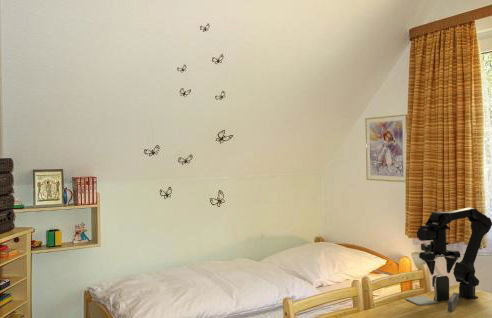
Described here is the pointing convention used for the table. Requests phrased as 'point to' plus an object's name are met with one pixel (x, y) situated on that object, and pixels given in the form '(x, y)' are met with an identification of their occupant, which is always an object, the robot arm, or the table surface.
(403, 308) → the table surface
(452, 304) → the grey rectangular bar
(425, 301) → the mat
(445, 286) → the battery
